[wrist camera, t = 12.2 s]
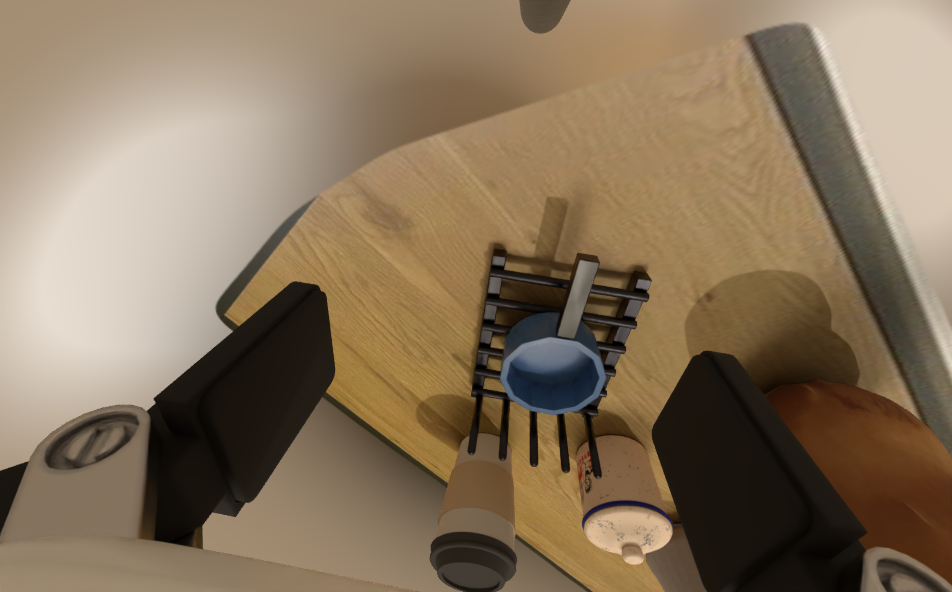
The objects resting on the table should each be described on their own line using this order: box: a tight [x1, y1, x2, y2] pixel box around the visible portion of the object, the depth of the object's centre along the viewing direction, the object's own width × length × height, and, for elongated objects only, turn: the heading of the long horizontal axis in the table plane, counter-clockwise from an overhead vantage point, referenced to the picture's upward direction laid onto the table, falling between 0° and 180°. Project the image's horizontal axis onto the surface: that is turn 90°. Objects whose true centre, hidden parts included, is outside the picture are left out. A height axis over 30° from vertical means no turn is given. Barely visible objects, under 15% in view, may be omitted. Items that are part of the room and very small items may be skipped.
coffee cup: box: [430, 433, 517, 592], centre depth 41 cm, size 9×9×15 cm
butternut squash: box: [764, 379, 952, 585], centre depth 27 cm, size 14×13×25 cm
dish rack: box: [467, 249, 652, 479], centre depth 33 cm, size 18×14×9 cm
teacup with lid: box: [576, 435, 673, 564], centre depth 41 cm, size 12×9×12 cm
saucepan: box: [500, 253, 606, 415], centre depth 31 cm, size 16×9×4 cm, turn 174°
